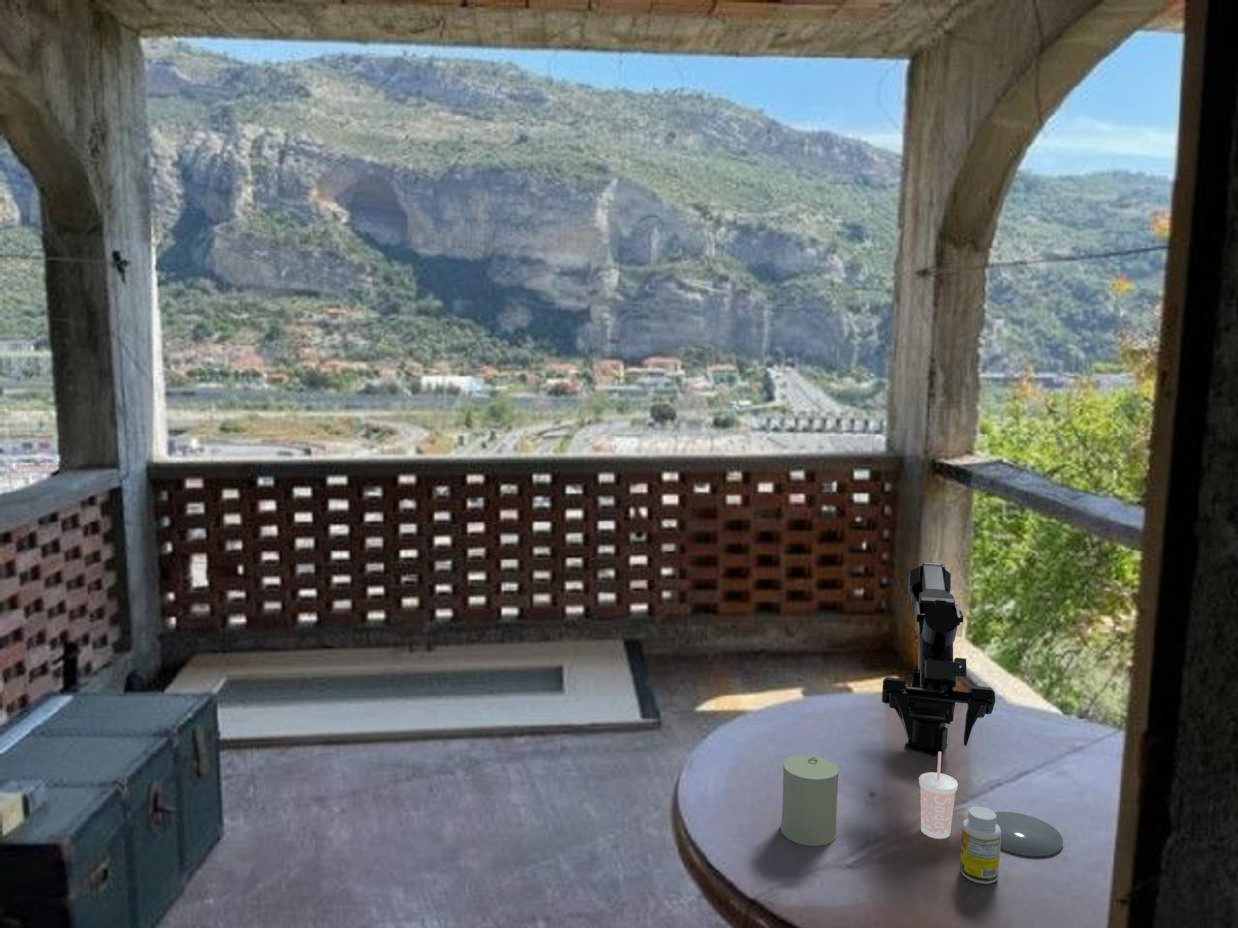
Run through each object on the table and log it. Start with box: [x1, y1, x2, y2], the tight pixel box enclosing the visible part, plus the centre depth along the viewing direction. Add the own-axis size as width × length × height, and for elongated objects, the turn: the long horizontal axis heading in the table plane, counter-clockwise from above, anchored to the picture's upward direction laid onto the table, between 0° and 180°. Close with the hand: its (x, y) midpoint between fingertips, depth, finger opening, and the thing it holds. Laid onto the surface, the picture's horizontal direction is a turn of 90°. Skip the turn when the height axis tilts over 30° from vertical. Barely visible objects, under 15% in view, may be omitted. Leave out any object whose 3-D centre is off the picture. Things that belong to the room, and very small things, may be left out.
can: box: [780, 753, 840, 847], centre depth 153 cm, size 9×9×12 cm
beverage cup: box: [918, 751, 959, 840], centre depth 153 cm, size 6×6×14 cm
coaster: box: [994, 811, 1064, 858], centre depth 153 cm, size 13×13×1 cm
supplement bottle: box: [959, 806, 1001, 885], centre depth 141 cm, size 6×6×10 cm
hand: (937, 741), depth 159 cm, fingers open, 9 cm apart
